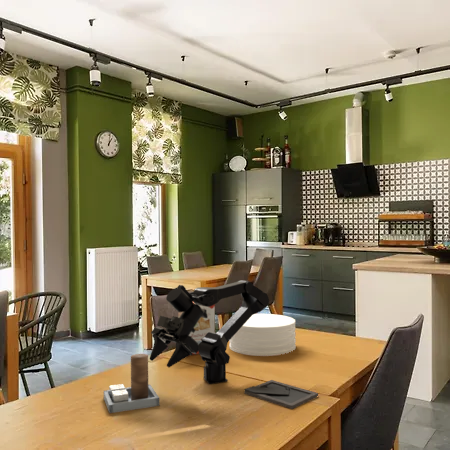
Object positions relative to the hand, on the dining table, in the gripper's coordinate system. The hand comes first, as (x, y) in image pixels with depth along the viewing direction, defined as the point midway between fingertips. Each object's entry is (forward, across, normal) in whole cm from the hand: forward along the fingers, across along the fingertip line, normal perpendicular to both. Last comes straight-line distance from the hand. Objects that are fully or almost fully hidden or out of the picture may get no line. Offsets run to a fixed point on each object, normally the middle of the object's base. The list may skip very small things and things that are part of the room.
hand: (159, 363), depth 143 cm
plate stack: (-38, -19, +54) cm, 69 cm away
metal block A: (+15, -4, -2) cm, 16 cm away
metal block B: (+16, 0, -3) cm, 16 cm away
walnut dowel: (+12, 0, +2) cm, 12 cm away
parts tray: (+14, -1, +1) cm, 14 cm away
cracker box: (-20, -31, +35) cm, 51 cm away
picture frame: (-12, +24, +28) cm, 39 cm away
